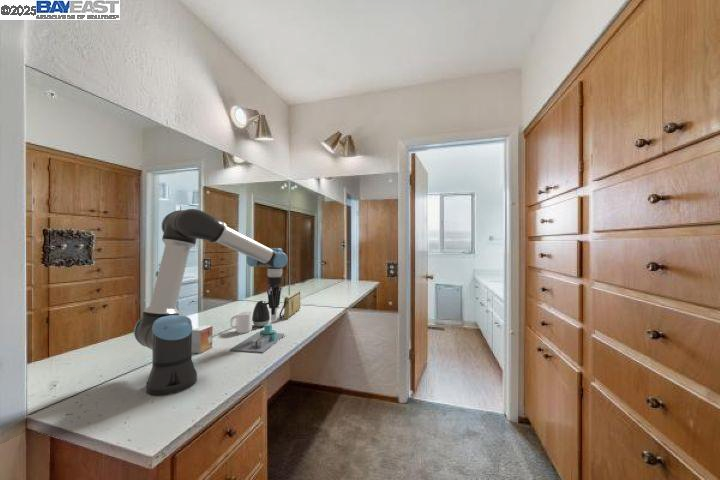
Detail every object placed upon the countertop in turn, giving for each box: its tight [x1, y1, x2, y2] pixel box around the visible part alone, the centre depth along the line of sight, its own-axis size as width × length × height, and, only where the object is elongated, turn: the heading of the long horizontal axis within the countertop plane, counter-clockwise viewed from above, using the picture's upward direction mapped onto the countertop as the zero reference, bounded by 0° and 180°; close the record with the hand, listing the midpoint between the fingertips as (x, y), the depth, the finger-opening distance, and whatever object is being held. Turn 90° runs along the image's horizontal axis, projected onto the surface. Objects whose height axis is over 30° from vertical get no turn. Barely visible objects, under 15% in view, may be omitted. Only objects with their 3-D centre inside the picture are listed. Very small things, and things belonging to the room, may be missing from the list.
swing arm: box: [252, 334, 268, 348], centre depth 141 cm, size 15×2×3 cm, turn 170°
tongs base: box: [257, 329, 276, 348], centre depth 142 cm, size 18×3×3 cm, turn 171°
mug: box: [229, 311, 253, 334], centre depth 161 cm, size 12×8×10 cm
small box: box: [192, 324, 213, 354], centre depth 133 cm, size 8×6×10 cm
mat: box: [228, 331, 285, 354], centre depth 143 cm, size 26×17×1 cm, turn 171°
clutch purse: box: [278, 290, 301, 320], centre depth 198 cm, size 30×7×15 cm, turn 175°
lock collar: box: [259, 323, 277, 341], centre depth 145 cm, size 2×8×8 cm, turn 81°
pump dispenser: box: [252, 300, 271, 328], centre depth 172 cm, size 10×10×15 cm
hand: (273, 320), depth 152 cm, fingers closed
